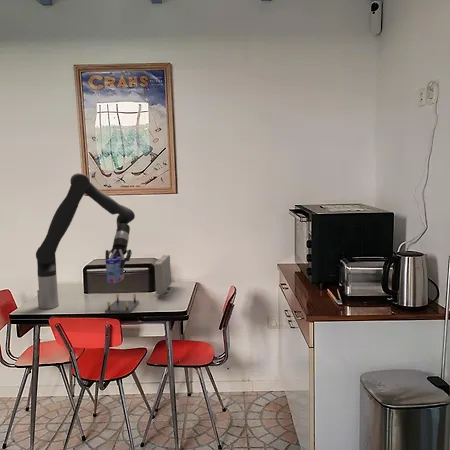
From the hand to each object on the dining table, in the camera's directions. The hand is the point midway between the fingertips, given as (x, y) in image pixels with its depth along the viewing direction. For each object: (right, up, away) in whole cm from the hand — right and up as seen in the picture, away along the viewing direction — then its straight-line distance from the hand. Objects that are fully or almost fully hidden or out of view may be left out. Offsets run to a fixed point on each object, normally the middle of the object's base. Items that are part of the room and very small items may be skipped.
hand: (115, 267), depth 229 cm
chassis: (+3, -21, +2) cm, 22 cm away
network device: (+20, -18, +31) cm, 41 cm away
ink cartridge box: (0, -7, +1) cm, 7 cm away
